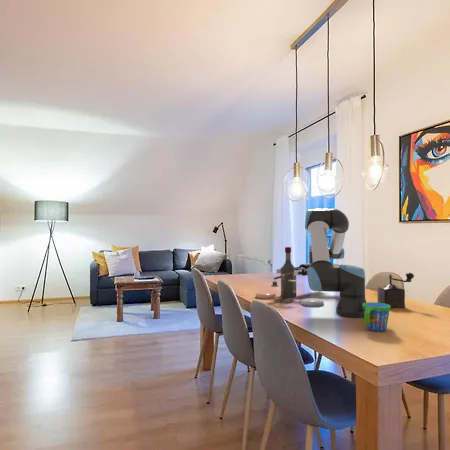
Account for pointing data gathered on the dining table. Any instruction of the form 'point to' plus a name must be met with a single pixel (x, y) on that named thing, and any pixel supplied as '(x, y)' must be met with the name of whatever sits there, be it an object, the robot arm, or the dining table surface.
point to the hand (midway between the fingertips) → (285, 272)
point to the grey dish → (312, 302)
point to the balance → (283, 288)
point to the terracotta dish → (265, 295)
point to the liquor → (286, 269)
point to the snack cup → (376, 315)
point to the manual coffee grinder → (393, 293)
